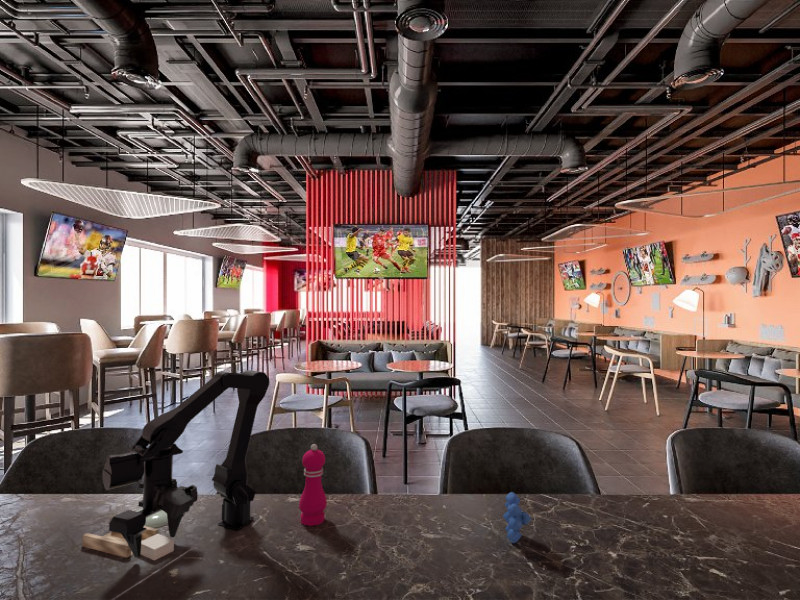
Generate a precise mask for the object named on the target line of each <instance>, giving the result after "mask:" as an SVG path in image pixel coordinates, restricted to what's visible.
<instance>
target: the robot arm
mask: <svg viewBox="0 0 800 600" xmlns="http://www.w3.org/2000/svg"><path fill="white" fill-rule="evenodd" d="M269 387H270V377H269V376H268V374H266V373H265V372H263V371H257V370H253V369H252V370H251V369H246V370H244V371H243V372H242V373H241V372H227V371H218V372H217V373H215V374H214V375H213V376H212V378H210V379H209V380H208V381H207V382H205V384H203V385H202V386H201V387H200V388H198V389H197V390H196V391H194V392H193V393H192V394H191V395H190V396H189V397H187V398H186V399H185V400H183V401H182V402H181V403H180V404H179V405H177V406H176V407H174V408H173V409H171V410H169V411H167V412H164V413H162V414H159V415H158V416H157V417H155V418H153V419H152V420H150V421H148V422H147V423H146V424H145V425H144V427H143V428H142V432H141V435H140V436H139V438H138V439H137V441H136V442H135V443H134V445H133V446H132V447H131V449H130V452H126V453H124V452H123V453H121V454H110V455H108V456H107V457H106V462H104V463H105V464H104V467H103V469H102V483H103V487H104V489H105V490H106V491H109V490H113V489H117V488H120V487H121V488H122V487H125V486H128V485H132V484H136V483H139V485H138V489H142V490H143V491H142V492H143V493H142V500H139V501H138V503H137V504H138V505H137V506H138V507H139V508H143V510H141V511H139V512H136V511H137V510H131V509H127V510H124V511H123V512H120V513H118V514H115V515H114V516H113V517H112V518H111V519H110V520H109V523H108V524H109V525H108V531H110V532H117V533H121V534H122V536H123V537H124V538H125V540H126V542H127V543H128V545H129V547H130V549H131V551H132V553H133V555H132V556H134V558H136V559H139V558H140V557H141V554H140V553H141V541H142V533H143V532H144V531H145V530H146V528H144V525H145V524H146V518H147V517H149V516H151V515H153V514H155V513H157V512H159V511H161V510H163V511H164V512H165V513H167V519H168V524H167V527H168V534H169V537H170V538H174V537H176V536H177V535H176V534H177V532H178V530H179V527H180V524H181V522H182V519H183V516H184V515H185V514H186V513H188V512H189V511H190V509H191V507H192V506H193V505H194V503H195V502H197V501H198V496H199V495H198V486H196V485H194V484H191V485H189V486H184V485H183V486H182V485H180V486H178V481H177V479H176V478H173V465H174V464H173V463H174V456H177V455H181V454H183V453H184V451H183V450H182V449H181V448H179V447H178V445H177V444H176V442H177V440H178V439H179V438H180V437H181V436H182V435H183V433H184V432H185V430H186V428H187V426H188V424H190V422H191V421H192V420H193V419H194V418H195V417H196V416H198V415H199V414H200V413H201V412H203V410H205V409H206V408H207V407H208V406H209V405H211V404H212V403H213V402H214V401H215V400H216V399H217V398H218V397H220V396H221V395H222V394H223V393H224V392H225V391H226V390H228V389H236V394H237V397H238V407H237V411H236V415H235V419H234V424H233V427H232V432H231V437H230V441H229V445H228V449H227V453H226V458H225V459H224V461H222V463H221V464H219V463H217V464H215V467H214V474H213V476H212V478H211V481H212V482H213V488H214V489H215V490H216V492H218V493H219V496H220V497H221V498H223V499H222V504H221V521H220V522H218V523H217V526H219V527H223V528H225V529H226V528H227V529H231V530H237V531H239V530H240V529H242V528H244V527H245V526H247V525H248V524H249V523H251V522H252V521H254V520H255V517H254V516H251V502H253V501H254V499H255V497H256V496H255V495H256V490H254V489H252V488H251V487H250V486H249V485H248V469H247V464H246V463H247V462H246V459H247V455H248V450H249V444H250V441H251V437H252V432H253V428H254V424H255V419H256V414H257V410H258V408H259V405H260V403H261V402H262V400H263V399H264V398H265V397H266V394H267V391H268V389H269ZM142 479H143V481H142V482H141V480H142ZM139 481H140V482H139ZM184 513H185V514H184ZM183 514H184V515H183ZM253 519H254V520H253ZM251 520H252V521H251ZM250 521H251V522H250Z"/></svg>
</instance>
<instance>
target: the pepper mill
mask: <svg viewBox="0 0 800 600" xmlns="http://www.w3.org/2000/svg"><path fill="white" fill-rule="evenodd" d="M301 461H302V462H301V463H302V466H303V467H304V469H303V476H305V482H304V484H305V485H304V488H303V491H302V493H301V496H300V499H299V503H298V508H299V511H300V512H301V514H300V523H301V524H302V525H303V524H304V525H303V526H306V525H308V526H307V527H315V526H318V525H321V524H323V523H324V521H325V517H326V513H325V509H326V508H327V506H328V505H327V503H328V502H327V500H328V499H327V496H326V493H325V490H324V489H323V485H322V475H323V474H324V467H323V466H324V465H325V463H326V456H325V454H324V452H323V451H322V450H320V449H318V445H317V444H316V443H313V444H311V446H310V450H307V451H306V452H305V453H304V454H303V456H302V460H301ZM314 525H315V526H314Z"/></svg>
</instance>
